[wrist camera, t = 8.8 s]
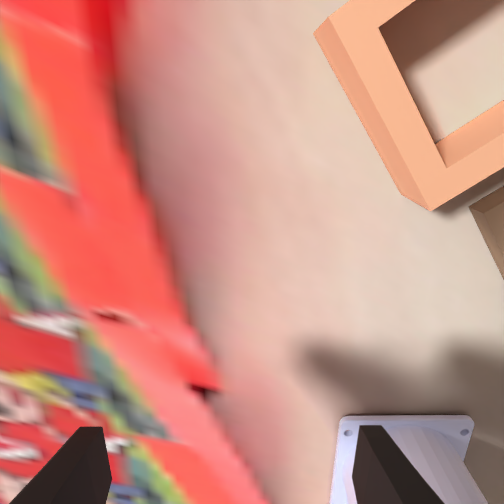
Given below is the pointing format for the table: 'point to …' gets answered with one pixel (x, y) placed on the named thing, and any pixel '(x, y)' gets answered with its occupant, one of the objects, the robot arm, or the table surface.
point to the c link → (405, 110)
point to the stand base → (492, 224)
